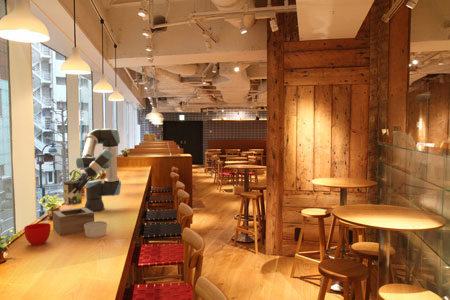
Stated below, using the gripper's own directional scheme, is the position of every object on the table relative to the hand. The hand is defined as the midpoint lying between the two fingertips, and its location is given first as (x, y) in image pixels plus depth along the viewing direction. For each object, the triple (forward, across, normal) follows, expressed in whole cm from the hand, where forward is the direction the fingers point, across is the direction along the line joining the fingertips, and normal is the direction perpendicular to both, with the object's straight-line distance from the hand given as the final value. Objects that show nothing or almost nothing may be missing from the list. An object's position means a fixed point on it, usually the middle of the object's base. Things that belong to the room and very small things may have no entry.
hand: (67, 196), depth 222 cm
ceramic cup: (+28, -18, -3) cm, 34 cm away
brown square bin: (+14, 0, -18) cm, 22 cm away
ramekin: (+7, -21, -24) cm, 33 cm away
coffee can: (+2, 0, -6) cm, 6 cm away
